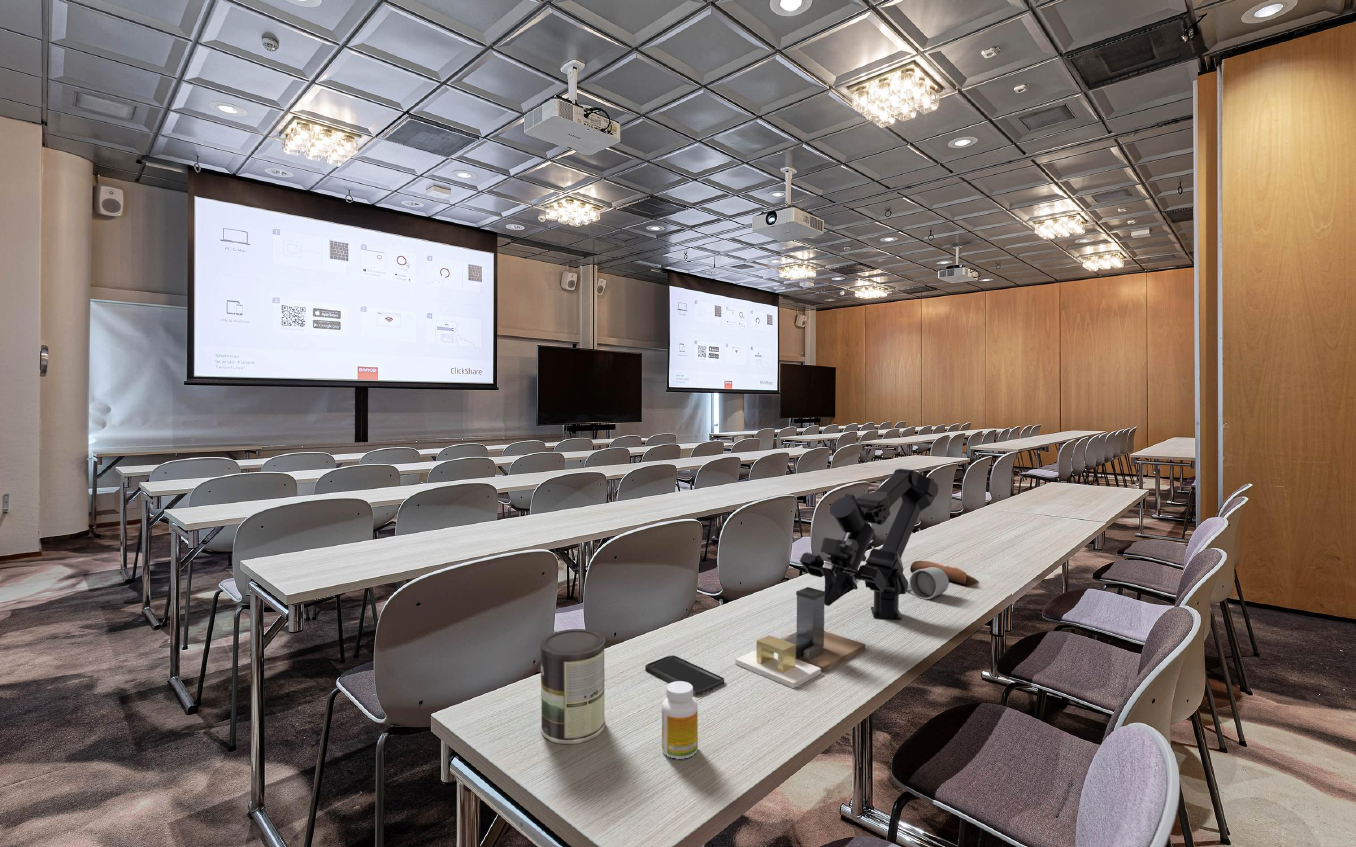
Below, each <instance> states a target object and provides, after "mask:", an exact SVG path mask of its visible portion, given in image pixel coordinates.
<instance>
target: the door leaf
mask: <svg viewBox="0 0 1356 847" xmlns="http://www.w3.org/2000/svg"><path fill="white" fill-rule="evenodd" d="M793 635H795V636H797V631H795V632H793V633H791V634H788V635H787V636H784V637H781V639H782V640H784V639H786V638H788V637H791V636H793ZM866 644H867V643H863V642H861V641H857V640H855V639H852V638H851V639H850V638H848V637H845V636H841V635H839V634H835V633H832V632H829V631H826V630H824V647H823V654H822V655H820V656H818V657H816V658H814V659H812V660H810V661H807V660H804V655H802V656H800V657H798V658H796V659H798V660H800V661H803V662H806V663H808V664H811V665H814V666H816V667H819V668H821V673H824V672H826V671H829V670H830V669H832V668H833V667H835V666H837V665H839V664H841V663H842V662H845V661H846V660H848V659H850V658H852V657H854V656H855V655H858V654H859V653H861V652H862V651H864V650H866V647H867V646H866Z"/></svg>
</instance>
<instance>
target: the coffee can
mask: <svg viewBox="0 0 1356 847" xmlns="http://www.w3.org/2000/svg"><path fill="white" fill-rule="evenodd" d="M605 647H606V637H605V636H604V635H603V634H601V633H600V632H598V631H595V630H591V629H585V628H574V629H573V628H572V629H564V630H559V631H556V632H553V633H550V634H548V635H546V636H544V637H543V638H542V639H541V641H540V643H539V650H540V694H541V695H540V696H541V697H540V698H541V699H540V701H541V703H540V704H541V706H540V709H541V713H540V714H541V716H540V717H541V718H540V719H541V722H540V723H541V727H540V732H541V735H542V736H543V738H544V739H547V741H549V742H552V743H554V744H560V745H577V744H582V743H586V742H589V741H591V740H593V739H594V738H596V737H599V736H600V734H601V733H602V732H603V731H604V729H605V727H606V720H605V719H606V716H605V715H606V713H605V710H606V708H605V695H606V694H605V687H606V685H605V679H606V678H605Z"/></svg>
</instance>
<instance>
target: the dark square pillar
mask: <svg viewBox="0 0 1356 847" xmlns="http://www.w3.org/2000/svg"><path fill="white" fill-rule="evenodd" d="M795 595H796V632H797V636H795V637H793V638H791V639H789V640H786V641H787V642H790V643H793V644H796V658H798V657H800V656H802V655H804V650H806V649H808V648H810V647H812V646H814V645H816V644H821V645H823V647H824V631H825V604H824V596H825V590H821V589H817V588H813V587H810V586H807V587H804V588H801V589H799V590H797V591H796V592H795Z"/></svg>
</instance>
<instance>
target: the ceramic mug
mask: <svg viewBox="0 0 1356 847" xmlns="http://www.w3.org/2000/svg"><path fill="white" fill-rule="evenodd" d="M911 573H912V574H911V575H910V577H909V581H908V589H907V591H906V592H909V591H911V592H912V593H913V594H914V595H915V596H916V597H917V598H919V599H922V600H929V599H930V600H931V599H933V598H934V597H937V596H940V595H942V594H944V593H945V592H946V591H947V590H948V588H949V584H950V582H949V581H950V580H948V577H947V575H946V573H945V572H944V571H943V570H941V569H939V568H935V567H929V568H925V569H919V570H916V571H915V572H911Z"/></svg>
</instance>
